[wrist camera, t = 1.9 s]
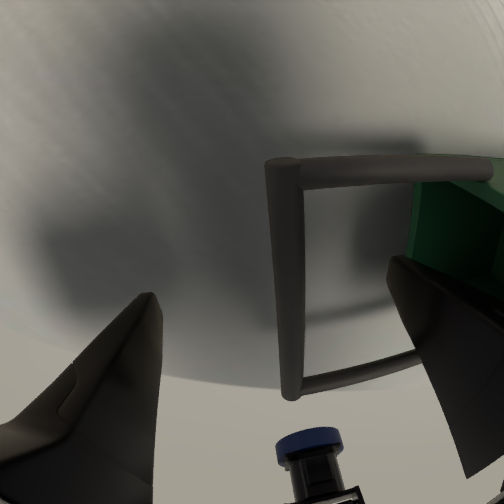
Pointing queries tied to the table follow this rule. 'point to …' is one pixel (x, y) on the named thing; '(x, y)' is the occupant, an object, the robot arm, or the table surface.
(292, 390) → the pail
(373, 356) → the table surface
